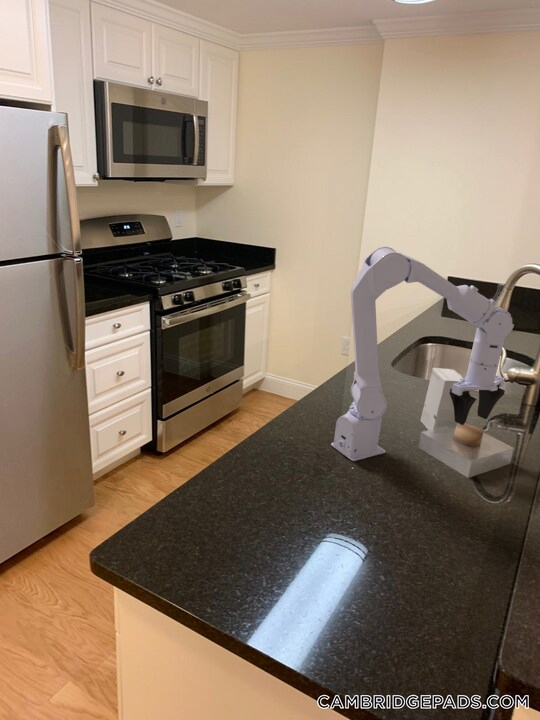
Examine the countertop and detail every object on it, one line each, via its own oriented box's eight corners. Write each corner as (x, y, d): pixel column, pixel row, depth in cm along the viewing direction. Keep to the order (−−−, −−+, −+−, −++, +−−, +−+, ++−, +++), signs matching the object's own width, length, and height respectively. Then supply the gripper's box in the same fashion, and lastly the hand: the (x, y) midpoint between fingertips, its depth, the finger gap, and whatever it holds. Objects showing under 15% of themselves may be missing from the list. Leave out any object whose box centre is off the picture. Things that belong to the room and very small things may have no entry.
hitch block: (467, 477, 110) (471, 461, 109) (418, 447, 121) (421, 431, 120) (509, 464, 117) (513, 447, 116) (459, 436, 128) (462, 421, 127)
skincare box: (419, 421, 135) (430, 366, 130) (442, 422, 136) (453, 367, 131) (432, 437, 127) (443, 379, 122) (456, 437, 128) (468, 380, 123)
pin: (465, 462, 115) (471, 438, 113) (445, 450, 120) (450, 426, 118) (483, 457, 118) (488, 433, 116) (462, 445, 123) (467, 422, 121)
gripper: (477, 372, 105) (463, 433, 109) (522, 364, 112) (507, 422, 117) (449, 360, 111) (437, 419, 115) (493, 353, 118) (480, 409, 122)
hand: (470, 420), depth 116 cm, fingers open, 7 cm apart
